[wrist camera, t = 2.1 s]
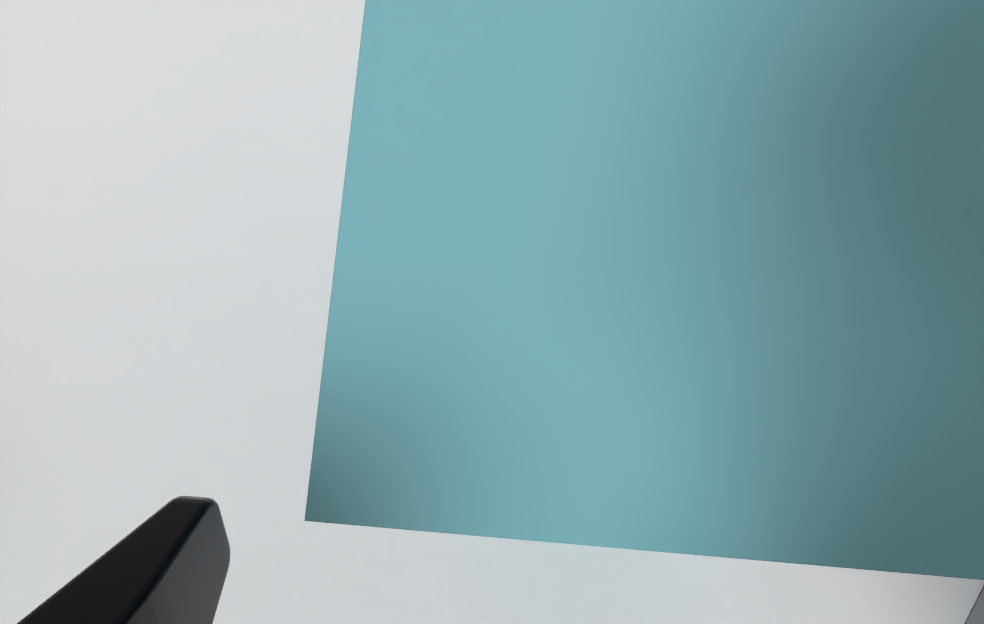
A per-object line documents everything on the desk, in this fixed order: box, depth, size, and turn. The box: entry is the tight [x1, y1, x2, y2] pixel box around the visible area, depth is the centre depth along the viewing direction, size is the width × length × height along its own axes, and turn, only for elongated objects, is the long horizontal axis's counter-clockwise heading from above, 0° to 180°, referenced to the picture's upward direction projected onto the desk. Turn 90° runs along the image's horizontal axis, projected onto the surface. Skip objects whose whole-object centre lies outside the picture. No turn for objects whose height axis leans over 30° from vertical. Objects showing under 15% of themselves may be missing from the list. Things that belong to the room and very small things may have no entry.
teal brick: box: [305, 0, 984, 580], centre depth 14 cm, size 6×6×12 cm
